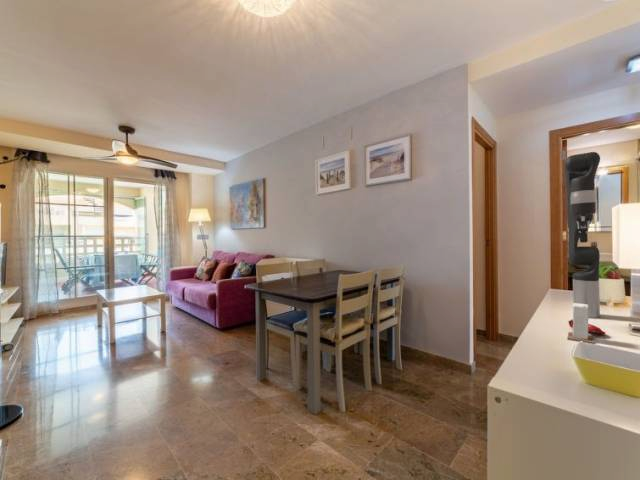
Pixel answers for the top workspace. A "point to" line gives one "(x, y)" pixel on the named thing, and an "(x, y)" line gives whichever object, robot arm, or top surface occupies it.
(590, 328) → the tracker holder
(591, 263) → the robot arm
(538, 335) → the top surface
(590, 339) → the coaster
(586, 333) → the skincare box
